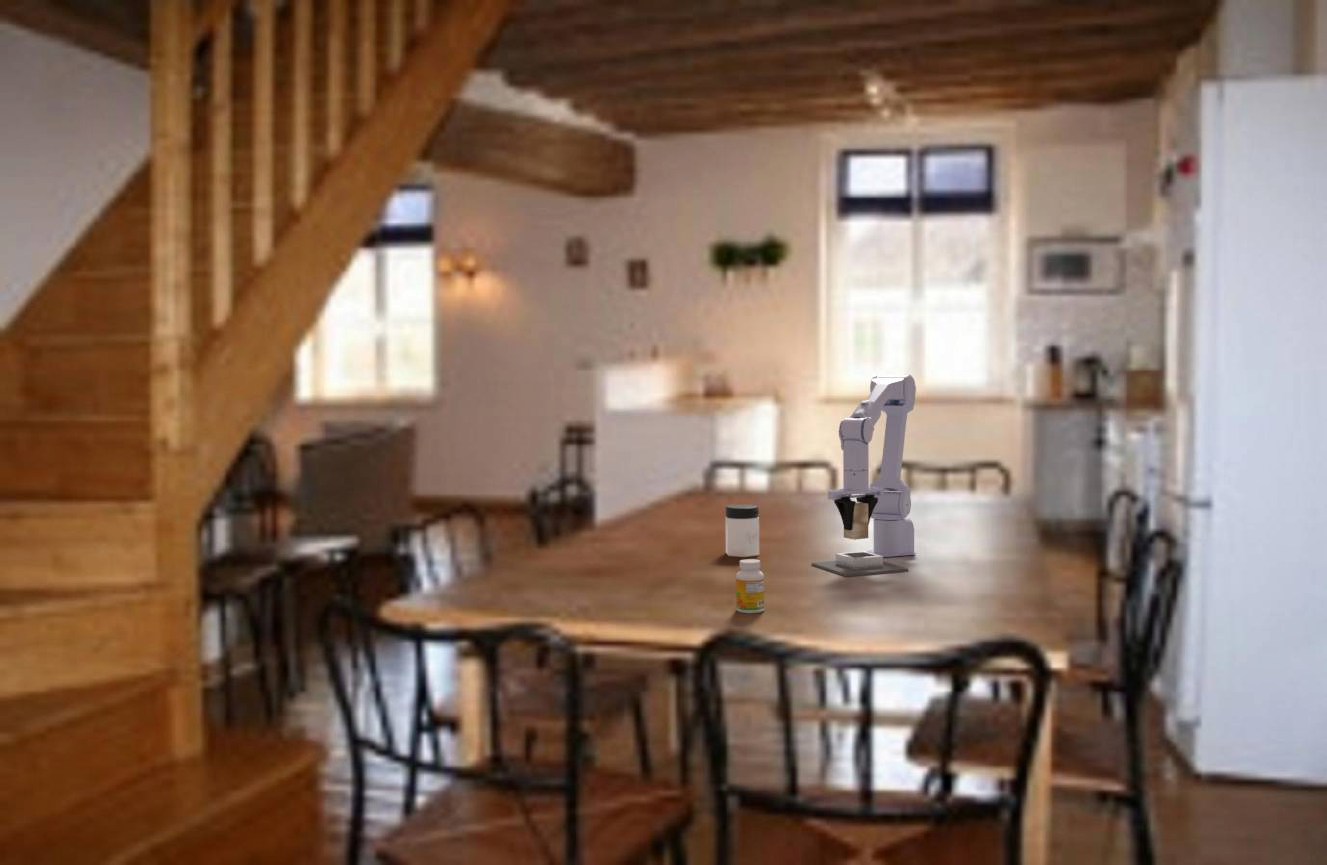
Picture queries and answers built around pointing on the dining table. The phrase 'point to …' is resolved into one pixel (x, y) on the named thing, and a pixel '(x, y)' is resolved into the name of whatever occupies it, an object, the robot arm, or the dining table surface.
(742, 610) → the supplement bottle
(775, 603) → the dining table surface
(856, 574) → the mat
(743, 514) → the jar
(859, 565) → the socket
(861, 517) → the beige block
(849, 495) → the robot arm
